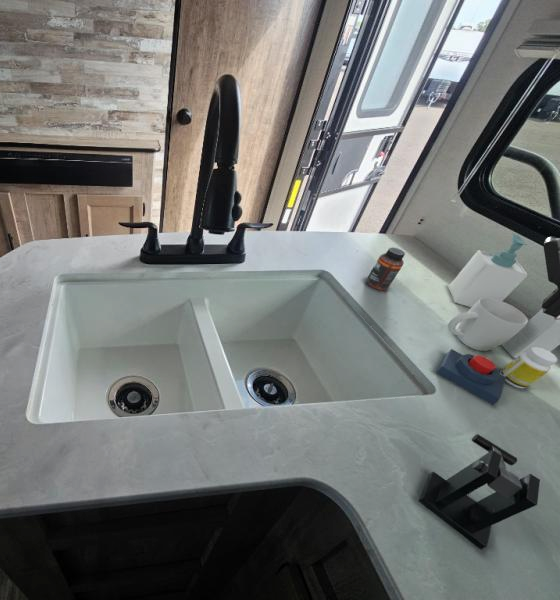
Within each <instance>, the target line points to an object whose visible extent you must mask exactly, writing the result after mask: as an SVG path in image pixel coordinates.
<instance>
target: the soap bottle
mask: <svg viewBox="0 0 560 600" xmlns="http://www.w3.org/2000/svg"><path fill="white" fill-rule="evenodd" d="M523 246H528V243H526V242H525V241H524V239H522V238H521V236H520V235H519V234H516V233H513V232H512V233H511V245H509V249H503V250H502V251H500V252H496V253H494V252H490V251H487V250H482V249H478V250H477V251H476V252H475V253H474V254H473V256H472V257H471V258H470V259H469V260H468V261H467V263H466V264H465V266H464V267H463V268H462V269H461V270H460V272H458V274H457V275H456V277H454V279H453V280H452V281H451V282H450V284H449V285H448V289H449V293H450V294H451V297H452V300H453V302H454V303H455V304H459V305H462V306H466V307H469V308H472V307H473V305H474V304H475V303H476V302H477V301H478V300H480V299H482V298H491V299H496V300H499V301H502V302H504V300H505V299H506V298H507V297H508V296H509V295H510V294H511V293H512V292H513V291H514V290H515V289H516V288H517V287H518V286H519V285H520V284H521V283H522V282H523V281H524V280H525V279H526V277H528V275H529V274H528V272H527V271H526V270H525V268H524V267H523V266H522V265H521V263H520V262H519V261H518V260H517V259H516V257H517V256H518V254H517V253H516V252H517V251H518V250H520V249H521V248H522V247H523Z"/></svg>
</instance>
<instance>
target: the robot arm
mask: <svg viewBox="0 0 560 600" xmlns="http://www.w3.org/2000/svg"><path fill="white" fill-rule="evenodd" d="M543 252H544V259H545V267H546V273H547V279H548V280H547V281H549V282H550V283H551V284H554V285H555V286H556V288H555V289H554V290H553V291H551V292H550V294H548V295H547V296H546V297H545V298H544V299H543V300H542V303H541V309H543V313H545V314H547V315H550V316H552V317H555V318H557V317H558V316H559V315H560V237H556V236H549V237H548V236H547V238H545V240H544V242H543Z"/></svg>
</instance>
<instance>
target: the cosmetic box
mask: <svg viewBox="0 0 560 600" xmlns="http://www.w3.org/2000/svg"><path fill="white" fill-rule="evenodd" d="M558 346H560V315H559V316H558V317H557V318H555V317H552V316H550V315H547V314H545V313H543V308H541V309H540V310H539V311H538V312H537V313H536V314H534V315H533V316H532V317H531V318H530V319H528V323H527V324H526V325H525V326H524V327H523V328H522V329H521V330H520V331H519V332H518V333H517V334H516V335H514V336H513V337H512V338H510V339H509V340H508V341H506V342H504V343H503V344H501V347H502V348H503V349H504V350H505V352H507V353H508V354H509V355H510V356H511V357H512V358H514V359H516V358H517V357H518V356H519V355H520V354H522V353H525V352H527V351H528V350H530V349H531V348H532V347H540V348H543V349H545V350H547V351H549V352H551V353H552V351H553V350H555V349H556V348H558Z"/></svg>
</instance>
